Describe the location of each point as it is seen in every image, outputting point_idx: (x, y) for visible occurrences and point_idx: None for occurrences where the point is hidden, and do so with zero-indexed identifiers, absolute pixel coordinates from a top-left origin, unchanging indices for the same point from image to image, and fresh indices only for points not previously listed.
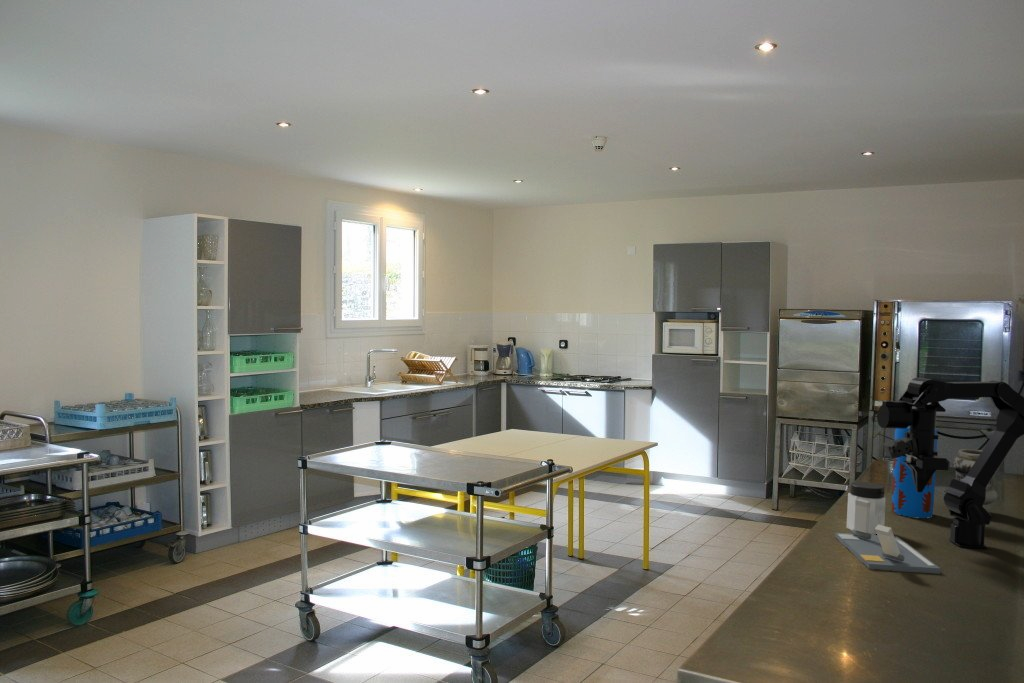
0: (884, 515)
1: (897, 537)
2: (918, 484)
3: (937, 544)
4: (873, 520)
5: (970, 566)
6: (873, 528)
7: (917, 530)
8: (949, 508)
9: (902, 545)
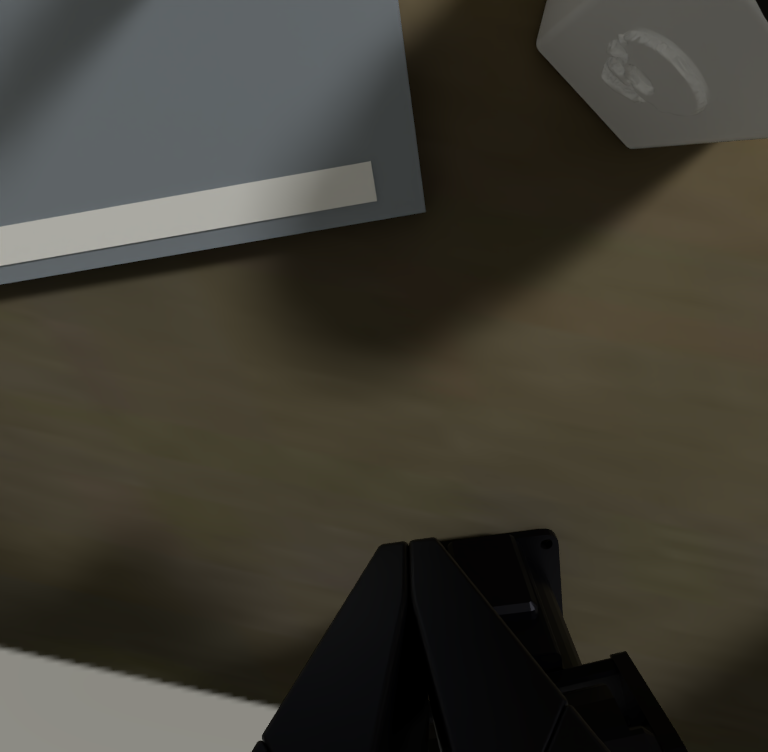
0: (699, 139)
1: (387, 205)
2: (324, 656)
3: (434, 447)
4: (573, 2)
5: (38, 508)
6: (551, 27)
7: (756, 404)
8: (571, 692)
9: (161, 197)
